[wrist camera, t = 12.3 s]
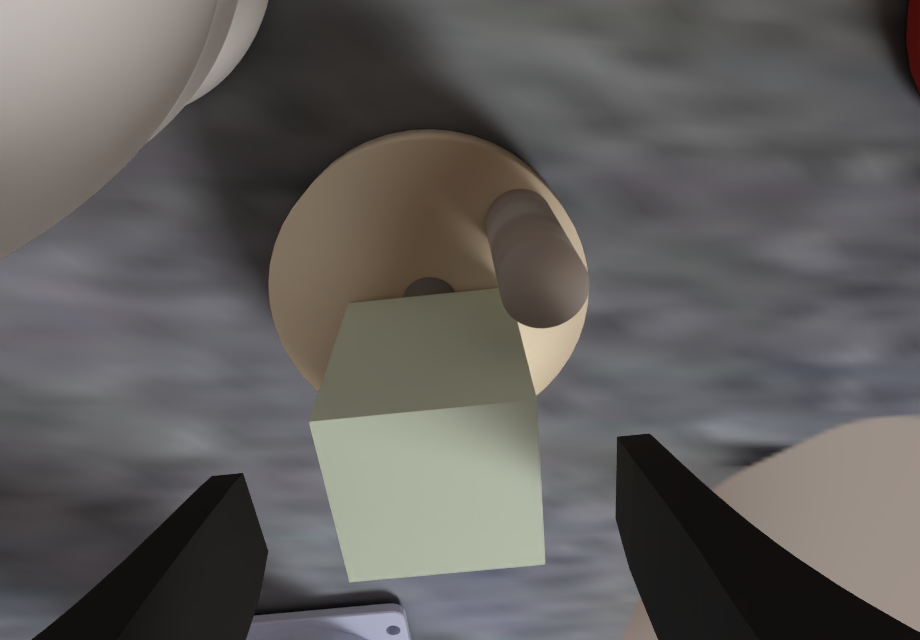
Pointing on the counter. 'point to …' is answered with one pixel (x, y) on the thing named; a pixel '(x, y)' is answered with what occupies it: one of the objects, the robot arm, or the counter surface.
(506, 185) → the disc
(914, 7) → the canned food
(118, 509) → the counter surface
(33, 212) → the jar
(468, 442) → the link block
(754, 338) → the counter surface
